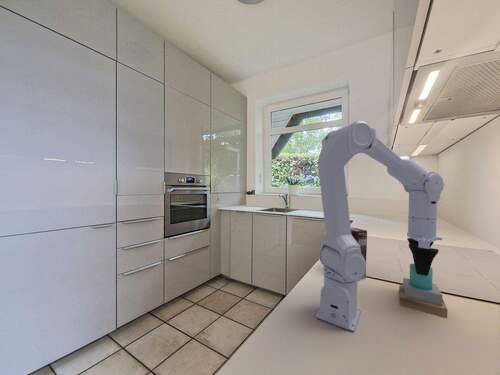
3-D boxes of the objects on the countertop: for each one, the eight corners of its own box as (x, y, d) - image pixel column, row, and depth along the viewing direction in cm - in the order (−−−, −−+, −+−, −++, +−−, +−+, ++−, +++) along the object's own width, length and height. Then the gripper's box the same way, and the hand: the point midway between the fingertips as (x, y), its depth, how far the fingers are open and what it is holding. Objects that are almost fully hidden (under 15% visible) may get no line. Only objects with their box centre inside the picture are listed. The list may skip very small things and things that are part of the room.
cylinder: (433, 292, 52) (434, 271, 52) (410, 286, 54) (410, 267, 54) (430, 284, 55) (430, 266, 55) (408, 280, 58) (409, 262, 58)
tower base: (447, 320, 49) (447, 309, 49) (399, 306, 54) (399, 297, 54) (440, 303, 56) (440, 294, 56) (399, 292, 61) (399, 284, 61)
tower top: (442, 305, 50) (442, 295, 50) (405, 297, 54) (406, 287, 54) (435, 293, 56) (435, 284, 56) (403, 286, 60) (403, 277, 60)
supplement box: (335, 270, 75) (336, 226, 75) (345, 268, 77) (346, 225, 77) (356, 280, 67) (357, 231, 67) (366, 278, 69) (367, 230, 69)
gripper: (448, 223, 47) (446, 284, 47) (438, 216, 59) (436, 265, 59) (408, 219, 51) (407, 275, 51) (406, 214, 63) (405, 259, 63)
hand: (420, 269), depth 55 cm, fingers open, 7 cm apart
